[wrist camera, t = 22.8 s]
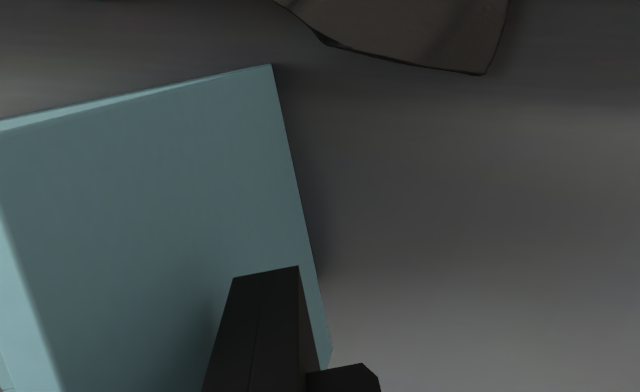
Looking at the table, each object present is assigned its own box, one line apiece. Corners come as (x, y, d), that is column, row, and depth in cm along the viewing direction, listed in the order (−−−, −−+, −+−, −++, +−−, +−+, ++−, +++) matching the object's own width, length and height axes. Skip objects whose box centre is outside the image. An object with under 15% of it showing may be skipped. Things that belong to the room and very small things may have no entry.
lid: (165, 792, 10) (207, 796, 10) (-79, 151, 7) (-26, 140, 7) (314, 351, 24) (333, 349, 23) (250, 68, 21) (271, 64, 21)
